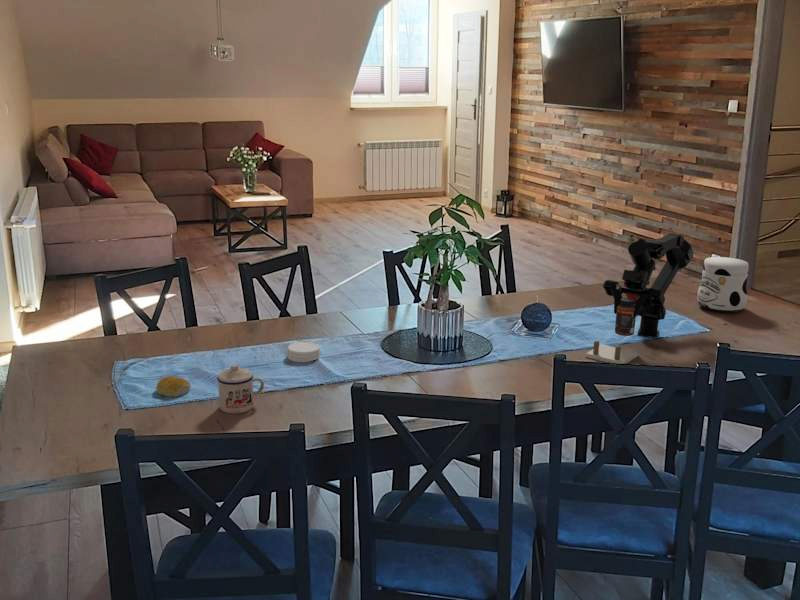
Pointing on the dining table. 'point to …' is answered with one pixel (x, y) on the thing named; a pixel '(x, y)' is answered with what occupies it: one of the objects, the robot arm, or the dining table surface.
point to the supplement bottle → (625, 317)
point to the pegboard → (610, 353)
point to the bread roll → (173, 386)
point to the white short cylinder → (303, 352)
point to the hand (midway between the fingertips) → (624, 314)
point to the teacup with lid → (237, 390)
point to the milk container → (723, 284)
